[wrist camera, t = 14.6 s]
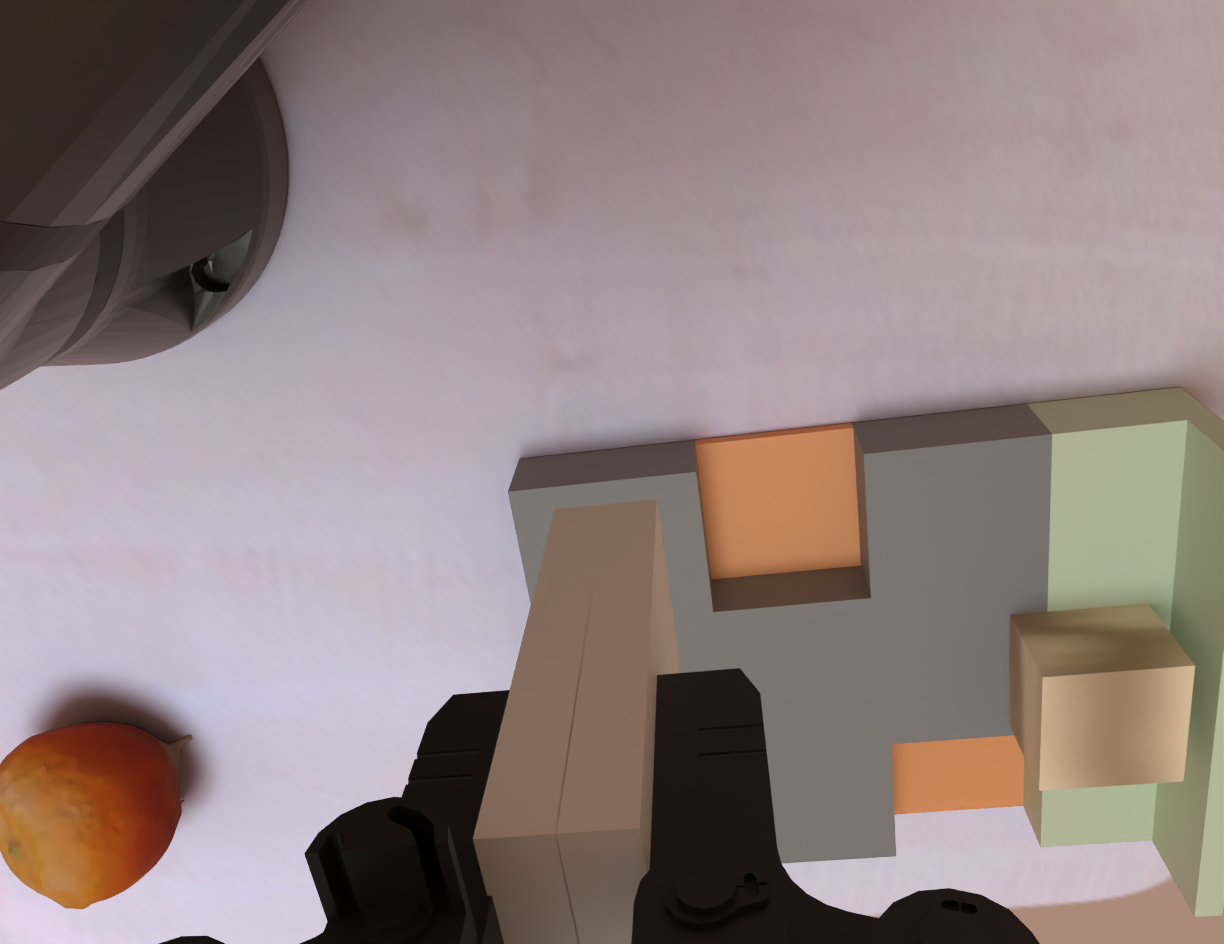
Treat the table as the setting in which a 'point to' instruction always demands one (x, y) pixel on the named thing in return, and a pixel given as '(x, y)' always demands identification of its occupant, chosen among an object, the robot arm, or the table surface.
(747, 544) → the box
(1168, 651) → the block
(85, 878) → the fruit
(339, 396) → the table surface
